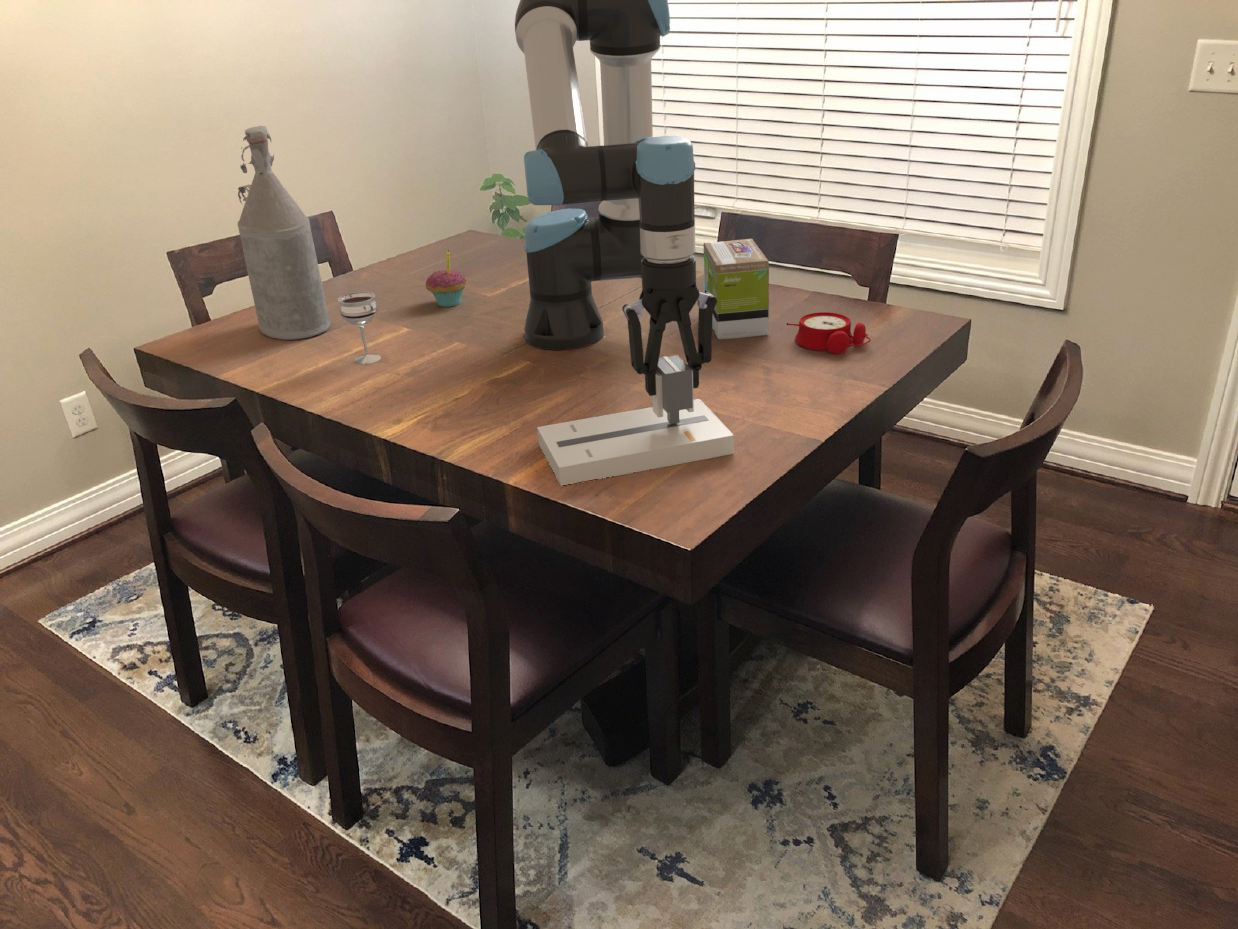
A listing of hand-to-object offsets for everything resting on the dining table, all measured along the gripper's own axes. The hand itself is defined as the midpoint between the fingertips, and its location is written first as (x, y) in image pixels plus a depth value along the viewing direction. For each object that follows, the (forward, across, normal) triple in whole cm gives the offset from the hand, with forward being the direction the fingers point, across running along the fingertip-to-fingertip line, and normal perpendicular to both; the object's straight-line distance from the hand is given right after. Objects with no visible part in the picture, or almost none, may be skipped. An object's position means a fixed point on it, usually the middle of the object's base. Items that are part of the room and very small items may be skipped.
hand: (673, 410), depth 150 cm
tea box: (+5, +28, +43) cm, 51 cm away
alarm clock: (+6, +40, +27) cm, 48 cm away
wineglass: (+5, -42, +55) cm, 69 cm away
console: (+5, -6, 0) cm, 8 cm away
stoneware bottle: (+5, -55, +79) cm, 96 cm away
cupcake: (+5, -23, +81) cm, 84 cm away
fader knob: (+2, 0, 0) cm, 2 cm away
